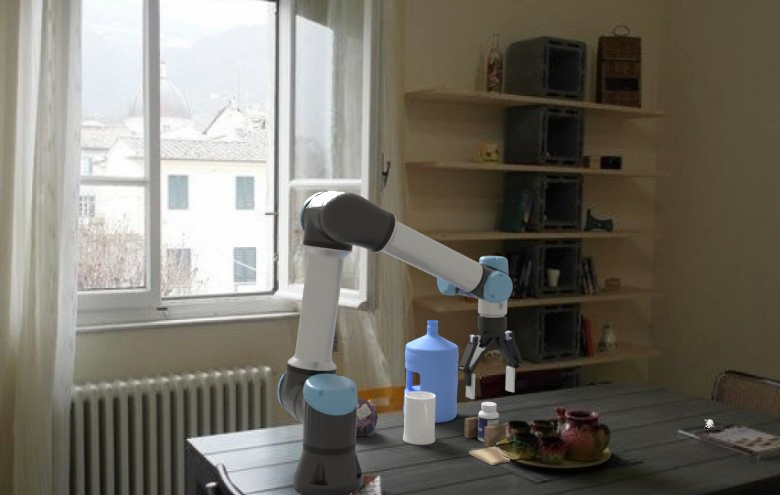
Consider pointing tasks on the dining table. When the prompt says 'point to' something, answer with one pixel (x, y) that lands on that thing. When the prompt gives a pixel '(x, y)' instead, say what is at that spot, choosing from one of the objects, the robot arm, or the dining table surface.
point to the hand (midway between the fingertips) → (490, 394)
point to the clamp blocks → (490, 433)
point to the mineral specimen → (365, 418)
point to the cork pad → (489, 455)
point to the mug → (419, 418)
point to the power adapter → (709, 423)
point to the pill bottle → (487, 418)
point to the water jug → (434, 370)
